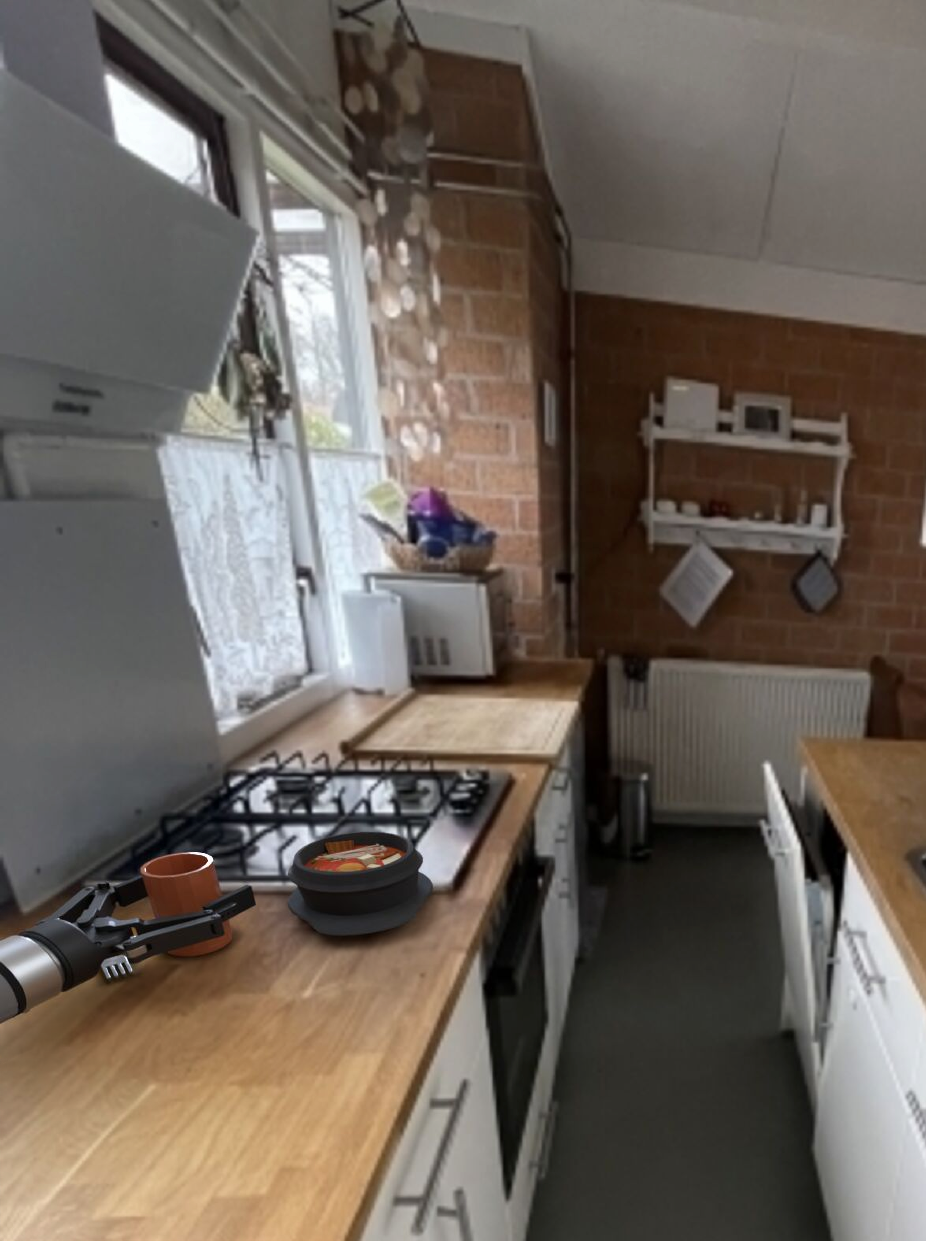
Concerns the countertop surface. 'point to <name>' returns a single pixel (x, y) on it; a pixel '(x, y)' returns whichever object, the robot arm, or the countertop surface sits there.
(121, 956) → the fork
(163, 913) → the tumbler
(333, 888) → the casserole
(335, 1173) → the countertop surface
